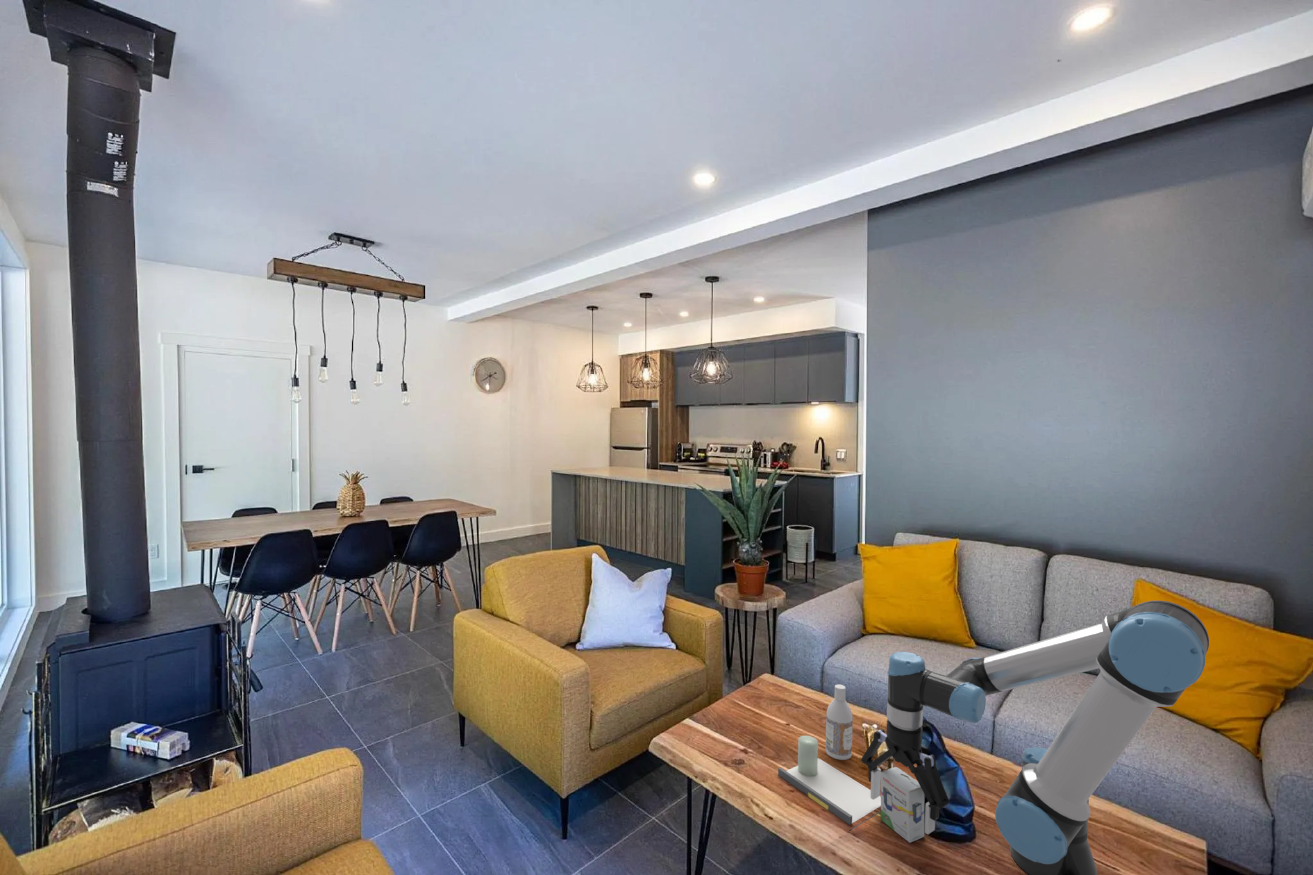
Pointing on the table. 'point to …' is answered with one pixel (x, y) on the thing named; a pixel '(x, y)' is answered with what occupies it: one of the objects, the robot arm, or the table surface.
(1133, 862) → the table surface
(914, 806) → the ink box
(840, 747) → the bath foam
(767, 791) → the table surface
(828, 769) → the shelf board
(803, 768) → the sage canister
